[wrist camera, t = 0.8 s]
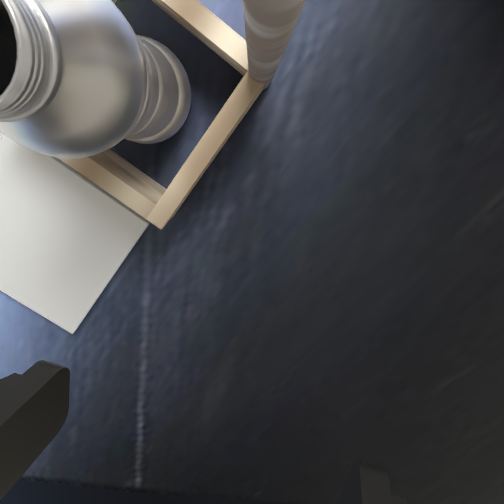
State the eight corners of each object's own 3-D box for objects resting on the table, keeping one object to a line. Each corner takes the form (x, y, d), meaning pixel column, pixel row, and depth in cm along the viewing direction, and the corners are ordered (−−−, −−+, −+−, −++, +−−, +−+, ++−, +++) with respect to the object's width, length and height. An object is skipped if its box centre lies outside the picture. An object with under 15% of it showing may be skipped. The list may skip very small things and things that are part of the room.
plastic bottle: (149, 21, 27) (-100, -227, 8) (216, 101, 29) (142, 55, 10) (85, 88, 28) (-259, 12, 9) (152, 161, 30) (-24, 225, 11)
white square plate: (-55, 251, 32) (-61, 253, 31) (11, 126, 29) (7, 127, 29) (75, 330, 34) (72, 334, 34) (150, 222, 31) (148, 224, 31)
